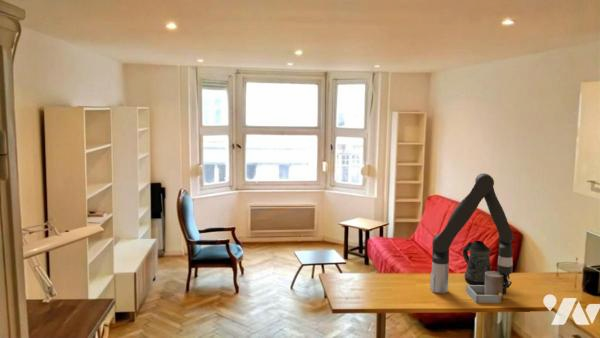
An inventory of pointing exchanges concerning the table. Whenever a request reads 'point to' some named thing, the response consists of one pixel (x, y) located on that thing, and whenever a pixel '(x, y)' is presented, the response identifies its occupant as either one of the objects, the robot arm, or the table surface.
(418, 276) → the table surface
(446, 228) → the robot arm
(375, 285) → the table surface
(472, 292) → the tray
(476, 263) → the beer stein
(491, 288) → the pillar candle
